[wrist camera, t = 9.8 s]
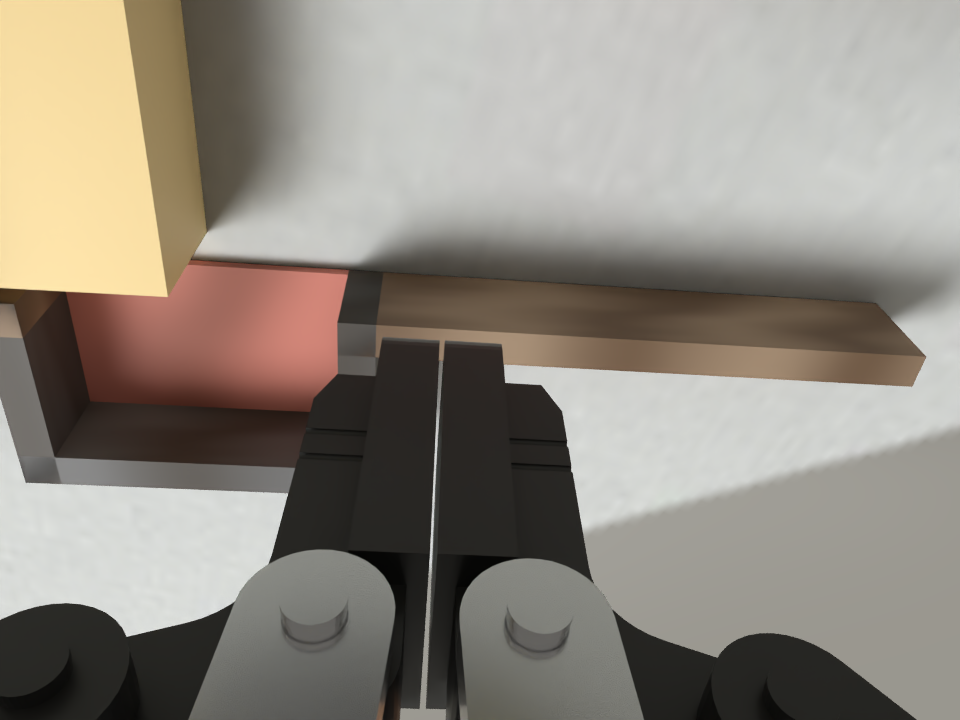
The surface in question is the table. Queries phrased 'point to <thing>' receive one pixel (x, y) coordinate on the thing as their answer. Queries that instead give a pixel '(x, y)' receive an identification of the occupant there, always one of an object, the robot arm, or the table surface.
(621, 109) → the table surface
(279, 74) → the table surface
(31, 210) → the block
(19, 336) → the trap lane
